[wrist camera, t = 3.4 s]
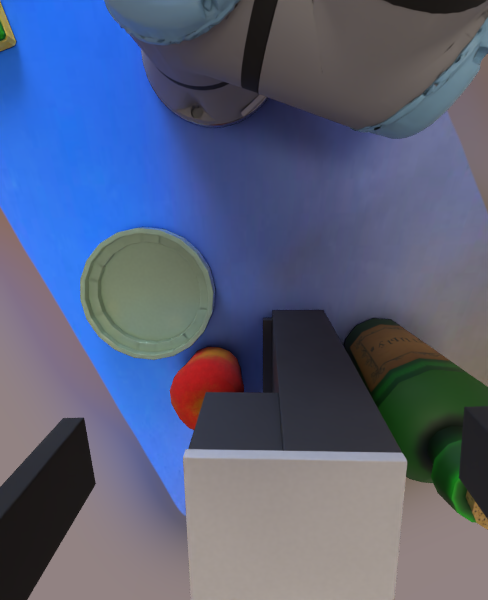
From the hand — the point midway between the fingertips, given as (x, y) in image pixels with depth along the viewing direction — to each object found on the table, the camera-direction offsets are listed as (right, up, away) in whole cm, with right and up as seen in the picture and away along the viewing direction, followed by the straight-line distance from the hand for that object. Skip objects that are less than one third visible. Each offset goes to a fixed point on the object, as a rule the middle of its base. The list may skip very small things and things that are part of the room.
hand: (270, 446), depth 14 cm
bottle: (+16, -1, +38) cm, 41 cm away
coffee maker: (+3, -4, +39) cm, 40 cm away
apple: (-5, -4, +40) cm, 40 cm away
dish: (-13, +6, +38) cm, 40 cm away
